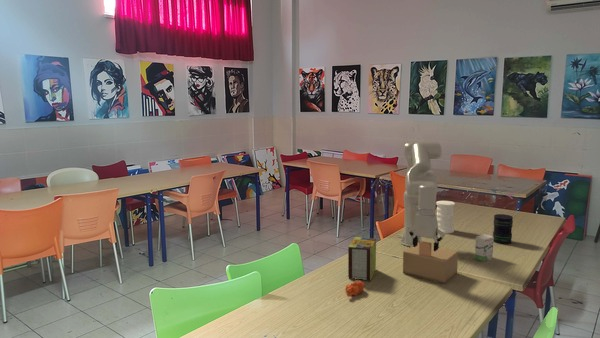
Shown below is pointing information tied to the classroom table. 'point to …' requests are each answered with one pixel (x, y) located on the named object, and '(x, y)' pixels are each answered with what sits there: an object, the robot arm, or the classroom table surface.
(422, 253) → the lid flap
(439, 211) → the decorative container
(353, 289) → the orange toy bird
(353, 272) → the protein box
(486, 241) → the ink box
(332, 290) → the classroom table surface
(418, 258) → the carton
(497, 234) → the storage jar
